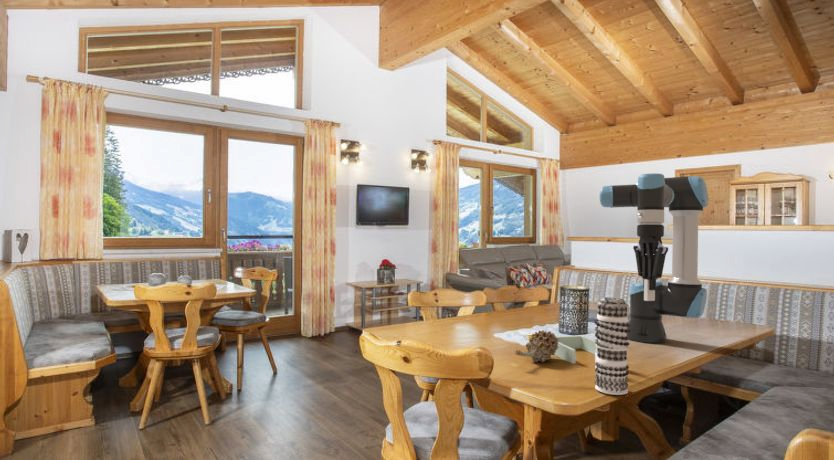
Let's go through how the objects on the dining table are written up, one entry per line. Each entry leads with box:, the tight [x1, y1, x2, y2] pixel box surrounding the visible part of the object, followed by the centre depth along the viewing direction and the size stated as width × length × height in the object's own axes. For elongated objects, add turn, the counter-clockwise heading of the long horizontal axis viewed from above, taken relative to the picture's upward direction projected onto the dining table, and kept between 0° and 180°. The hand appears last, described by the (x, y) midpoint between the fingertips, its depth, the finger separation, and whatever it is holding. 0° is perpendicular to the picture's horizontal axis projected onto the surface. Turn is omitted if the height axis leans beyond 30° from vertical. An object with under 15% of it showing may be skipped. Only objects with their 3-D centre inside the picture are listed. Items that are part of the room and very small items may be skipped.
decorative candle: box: [594, 297, 630, 396], centre depth 133 cm, size 9×9×25 cm
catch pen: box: [554, 335, 596, 365], centre depth 170 cm, size 15×19×4 cm
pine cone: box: [514, 330, 559, 364], centre depth 159 cm, size 22×10×10 cm, turn 138°
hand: (649, 300), depth 150 cm, fingers closed
